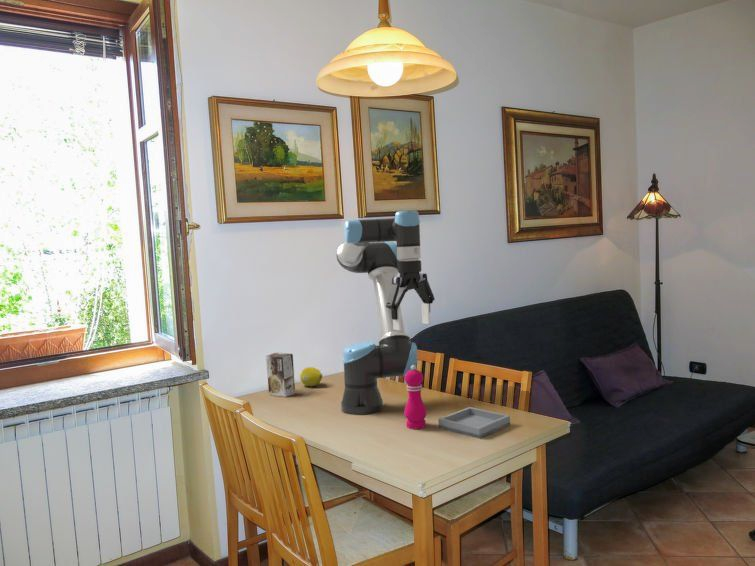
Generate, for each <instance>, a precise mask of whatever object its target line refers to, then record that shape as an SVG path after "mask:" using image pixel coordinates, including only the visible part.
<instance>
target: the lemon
mask: <svg viewBox="0 0 755 566" xmlns="http://www.w3.org/2000/svg"><path fill="white" fill-rule="evenodd" d="M299 375H300V377H299V378H300V381H301V382H302V383H301V384H303V385H304V386H306V387H314V386H317V385H319V383H320V382H321V381H322V379H323V374H322V373H321V370H319V369H318V368H316V367H313V366H312V367H311V366H310V367H309V366H307V367H305V368H304V369H303V370H301V373H300V374H299Z"/></svg>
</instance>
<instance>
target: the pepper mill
mask: <svg viewBox="0 0 755 566" xmlns="http://www.w3.org/2000/svg"><path fill="white" fill-rule="evenodd" d="M404 381H405V383H406V384H407V385H406V391H408V398H407V402H406V404H405V407H404V411H403V412H404V413H403V414H404V417H405V418H406V419H407V420H405V423H406V425H405V426H406V428H407V429H410V430H421V429H424V428H425V427H427V422H426V421H427V420H425V418H426V417H427V415H428V412H427V408H426V405H425V403H424V401H423V397H422V389H423V384H422V382H423V381H424V375H423V373H422V371H420V370H418V369H417V366H415V365H412V366H411V370H409V371H408V372H407V373H406V374H405V376H404Z"/></svg>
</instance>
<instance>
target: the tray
mask: <svg viewBox="0 0 755 566" xmlns="http://www.w3.org/2000/svg"><path fill="white" fill-rule="evenodd" d="M510 425H511V416H510V414H509V415H508V414H505V413H504V414H503V413H499V412H496V411H495V412H494V411H489V410H485V409H480V408H475V407H472V406H469V407H466V408H463V409H461V410H458V411H456V412H453V413H450V414H448V415H444V416H443V417H442V416H441V417H440V418H438V429H443V430H446V431H449V432H453V433H456V434H461V435H465V436H469V437H472V438H477V439H482V438H484V437H486V436H488V435H490V434H493V433H495V432H498V431H500V430H503V429H505V428H506V427H508V426H510Z"/></svg>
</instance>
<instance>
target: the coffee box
mask: <svg viewBox="0 0 755 566" xmlns="http://www.w3.org/2000/svg"><path fill="white" fill-rule="evenodd" d="M265 360H266V373H267V387H268V395H269V396H275V397H276V396H277V397H285V398H287V397H289V396H292V395H294V394H296V387H295V386H296V384H295V382H296V381H295V368H294V355H293V353H286V352H285V353H284V352H274V353H271V354H268V355H266V356H265Z"/></svg>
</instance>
